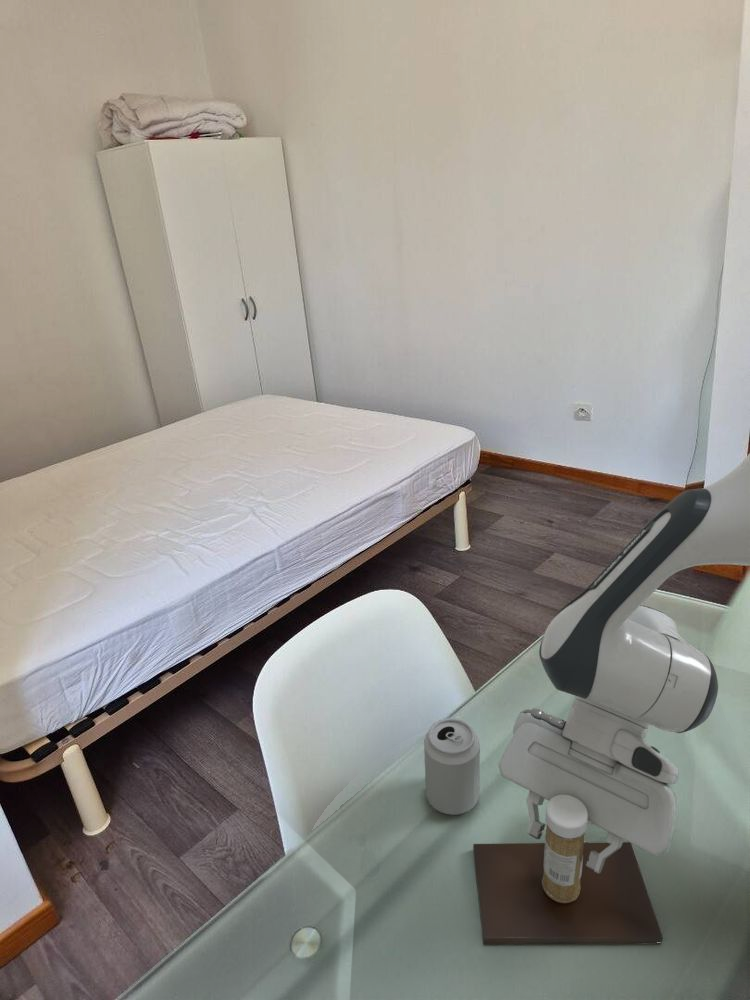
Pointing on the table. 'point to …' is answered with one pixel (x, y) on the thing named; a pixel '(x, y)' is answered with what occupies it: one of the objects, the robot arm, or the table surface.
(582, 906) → the walnut board
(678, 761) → the table surface
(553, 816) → the spice jar
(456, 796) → the can
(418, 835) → the table surface
